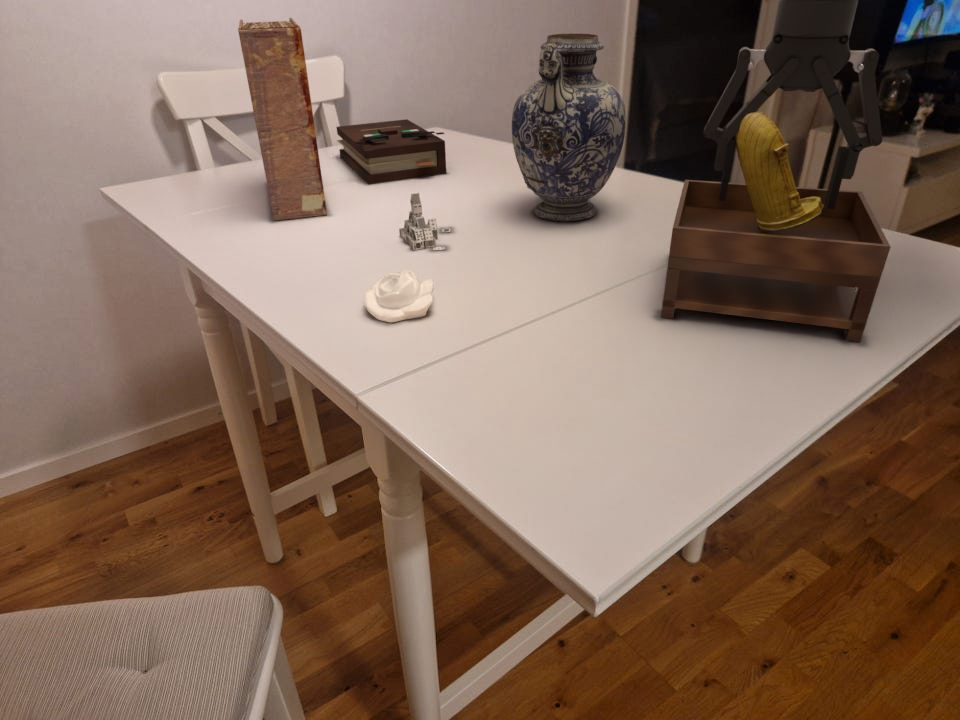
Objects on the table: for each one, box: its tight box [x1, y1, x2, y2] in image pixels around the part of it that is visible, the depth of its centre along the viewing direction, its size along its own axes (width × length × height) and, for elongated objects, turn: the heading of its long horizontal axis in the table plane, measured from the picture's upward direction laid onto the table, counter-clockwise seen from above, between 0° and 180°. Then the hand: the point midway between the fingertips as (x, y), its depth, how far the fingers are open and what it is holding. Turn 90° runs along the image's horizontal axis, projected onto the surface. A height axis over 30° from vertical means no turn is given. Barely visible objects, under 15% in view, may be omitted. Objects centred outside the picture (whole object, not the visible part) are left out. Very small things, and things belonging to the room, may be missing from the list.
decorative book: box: [336, 119, 447, 185], centre depth 144 cm, size 19×8×30 cm
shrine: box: [734, 101, 824, 231], centre depth 77 cm, size 12×8×15 cm
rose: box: [363, 269, 434, 323], centre depth 84 cm, size 10×4×10 cm
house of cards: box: [398, 192, 451, 251], centre depth 103 cm, size 9×9×8 cm
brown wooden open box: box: [660, 179, 891, 343], centre depth 82 cm, size 22×20×12 cm
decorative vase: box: [511, 33, 627, 223], centre depth 108 cm, size 21×19×28 cm
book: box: [237, 17, 328, 222], centre depth 118 cm, size 25×9×30 cm, turn 17°
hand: (774, 201), depth 79 cm, fingers closed on shrine, 11 cm apart
